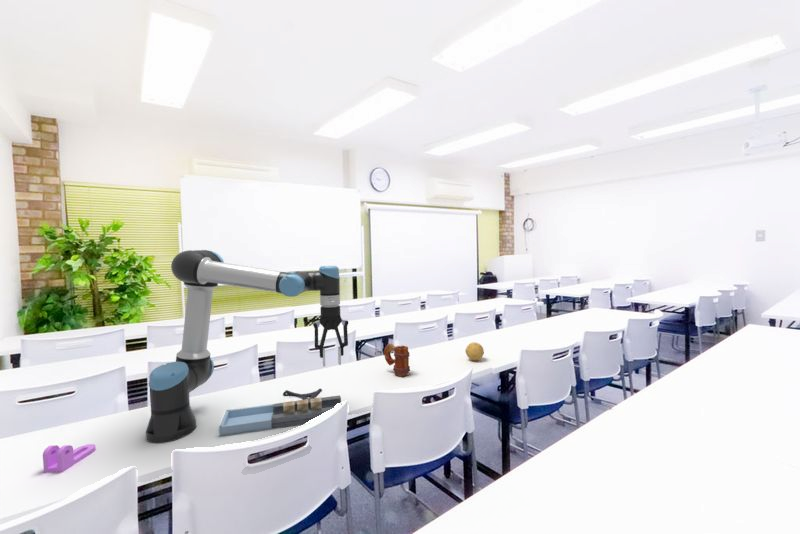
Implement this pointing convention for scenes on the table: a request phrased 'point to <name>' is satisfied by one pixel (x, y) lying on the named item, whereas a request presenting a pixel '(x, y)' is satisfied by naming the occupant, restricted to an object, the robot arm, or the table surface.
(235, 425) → the tray
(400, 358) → the mug
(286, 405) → the wooden cube
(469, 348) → the stress ball
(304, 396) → the bracket
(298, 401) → the wooden cube
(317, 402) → the wooden cube
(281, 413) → the slot bed
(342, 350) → the robot arm
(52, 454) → the bracket
